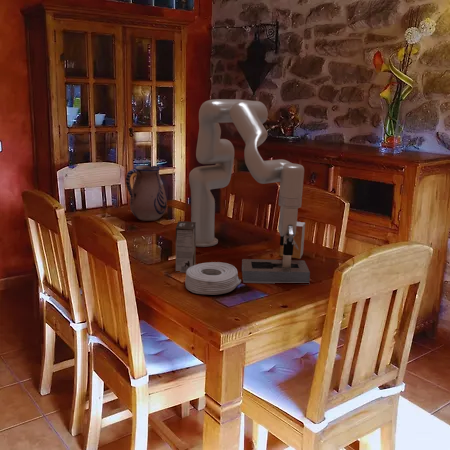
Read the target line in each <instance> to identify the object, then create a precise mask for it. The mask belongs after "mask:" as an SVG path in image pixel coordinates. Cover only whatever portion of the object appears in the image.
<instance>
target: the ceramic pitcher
mask: <svg viewBox="0 0 450 450" xmlns="http://www.w3.org/2000/svg"><path fill="white" fill-rule="evenodd" d="M160 169H161V168H160V166H158V165H152V166H149V165H147V164H146V165H137V166H134V167H133V168H132V169H130V170H129V171H127V174H126V176H125V184H126V188H127V191H128V194H129V195H130V197H129V209H130V212H131V213H132V215H133V216H134V217H135V218H136V219H137V220H139V221H143V222H150V221H157V220H159V219H160V218H161V217H162V216H163V215H164V214H165V212H166V211H167V207H168V205H167V204H168V199H167V195H166V190H165V187H164V183H163V180H162V179H161V176H160ZM134 174H136V177H135V179H134V182H133V186H131V185H132V184H131V178H132V175H134Z"/></svg>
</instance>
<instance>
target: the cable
mask: <svg viewBox="0 0 450 450" xmlns="http://www.w3.org/2000/svg"><path fill="white" fill-rule="evenodd" d="M238 275H239V274H238V269H237V268H236V267H235V265H233V264H230V263H227V262H222V261H221V262H220V261H217V262H216V261H214V262H213V261H211V262H210V261H209V262H202V263H201V262H200V263H198V264H197V263H196V264H195V265H194V266H192V267H190V268H188V269H187V271H186V272H185V281H184V282H185V283H184V284H185V289H187V290H188V291H190V292H191V293H193V294H197V295H208V296H209V295H211V296H215V295H217V296H218V295H223V294H227V293H231V292H232V291H233V290H235V289H236V287H238V286H239V285H240V284H241V283H242V279H241V278H240V277H239V276H238Z"/></svg>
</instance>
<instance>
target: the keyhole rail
mask: <svg viewBox="0 0 450 450" xmlns="http://www.w3.org/2000/svg"><path fill="white" fill-rule="evenodd" d="M282 265H283V259H259V258H258V259H257V258H256V259H253V258H252V259H251V258H242V260H241V274H242V283H243V284H275V283H309V284H310V281H311V280H310V278H311V271H310V270H309V267H308V265H307V263H306V261H305V260H300V259H299V260H298V259H293V260H292V259H291V268H282Z"/></svg>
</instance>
